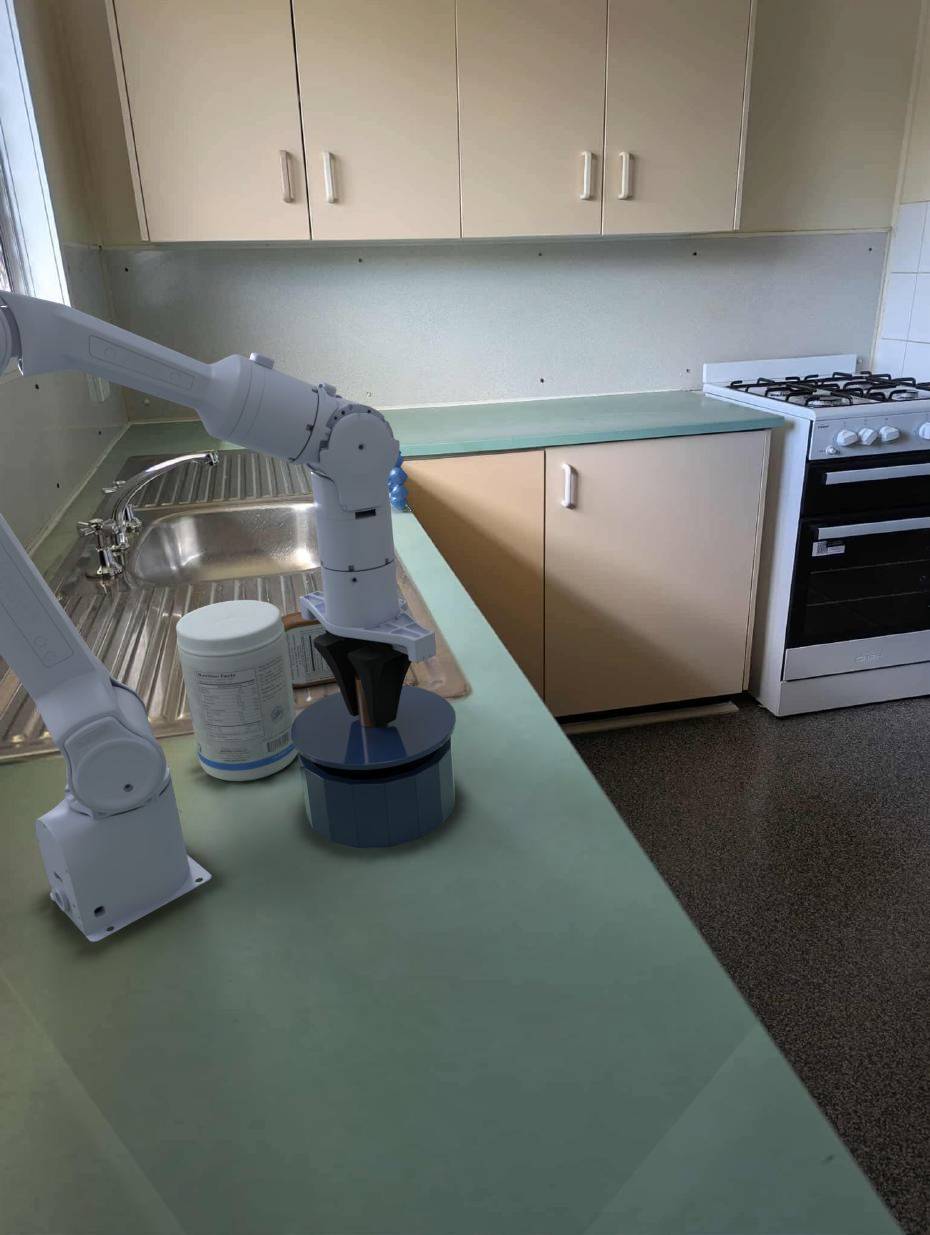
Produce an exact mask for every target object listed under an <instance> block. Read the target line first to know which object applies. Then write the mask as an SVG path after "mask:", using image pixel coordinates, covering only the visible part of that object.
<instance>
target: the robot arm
mask: <svg viewBox="0 0 930 1235" xmlns="http://www.w3.org/2000/svg"><path fill="white" fill-rule="evenodd" d="M0 300H1V301H2V302H3V304H4V305H2V306H0V378H1V377H2V376H3V374H4V373H5V371H6V370H7V368H8V366H9V364H10V362H11V358H16V360H17V367H18V369H19V371H20V373H21V375H22V377H23V378H28V377H34V376H40V375H45V374H46V375H47V374H53V373H58V372H65V371H78V372H81V373H84V374H87V375H90V376H93V377H96V378H99V379H103V380H106V381H109V382H111V383H114V384H116V385H117V384H118V385H120V386H124V387H126V388H129V389H133V390H136V391H139V392H142V393H145V394H147V395H150V396H154V397H157V398H160V399H163V400H167V401H168V402H172V403H175V404H178V405H181V406H184V407H188V408H189V409H193V410H194V411H195V412H196V414H197V415H198V417H199V419H200V420H201V423H202V424H203V427H204V429H205V431H206V432H207V434H208V435H209V436H210V437H213V438H214V439H215V438H216V439H218V440H221V441H224V442H227V443H230V444H233V445H236V446H238V447H241V448H245V449H248V450H250V451H254V452H256V453H259V454H262V455H265V456H267V457H271V458H273V459H276V460H278V461H282V462H284V463H288V464H290V465H294V466H298V465H299V466H300V465H305V466H306V467H307V468H308V469H309V470H311V471H310V477H311V486H312V487H311V488H312V495H313V513H314V524H315V530H316V540H317V547H318V556H319V566H320V572H321V583H322V591H320V590H316V591H313V592H310V593H307V594H304V595H301V596H299V606H300V612H301V614H302V618H303V619H306V620H313V619H318V620H319V621H320V623H321V624H322V625H323V626H324V627H325V628H326V629H327V630H326V633H325V634H322V635H320V636H318V637H316V638H315V639H314V647H315V648H316V649H317V651H318V652H319V653H320V654H321V656H322V657H323V658H324V660H325V661H326V663H327V664H328V666H329V668H330V669H331V671H332V673H333V675H334V677H335V679H336V681H335V682H336V683H337V686H338V688H339V692H341V693H342V696H343V699H344V701H345V704H346V706H347V709H348V711H349V713H350V715H352V716H354V717H355V716H357V715H358V706H357V696H356V687H355V678H354V677H355V675H356V674H358V676H359V678H360V681H361V683H362V686H363V690H364V693H365V698H366V704H367V709H368V714H369V718H370V721H371V723H372V725H373V726H374V727H376V728H380V727H382V726H384V725H386V724H388V723H390V722H392V721H394V720H396V717H397V711H398V705H399V700H400V695H401V691H402V687H403V685H404V683H405V679H406V676H407V674H408V672H409V669H410V667H411V665H412V663H414V664H420V663H422V662H424V661H426V660H429V659H431V658H433V657H436V656H437V644H436V632H435V631H434V630H430V629H428V628H426V627H424V626H423V625H422V624H421V623H419V622H418V621H417V620H416V619H415V618H413V617H412V616H411V615H410V614H409V613H408V612H406V611H408V601H406V600H405V599H401V598H399V593H398V592H399V591H398V579H397V578H398V577H397V568H396V567H397V566H396V554H395V543H394V530H393V516H392V504H391V503H390V493H389V486H388V477H389V475H390V473H391V471H392V470H393V468H394V466H395V464H396V462H397V459H398V455H399V450H400V448H401V446H400V440H398V439H396V438H395V437H394V436H395V435H394V432H393V429H392V427H391V424H390V423H389V421H388V420H386V419H385V415H384V414H383V413H382V412H380V411H378V410H377V409H376V408H374V407H372V406H369V405H366V404H362V403H359V402H355V401H352V400H349V399H345V398H343V396H341V394H336V393H337V387H336V386H335V385H332V384H329V383H327V382H323V381H319V382H318V383H317V385H314V384H312V383H309V382H307V381H304V380H302V379H300V378H297V377H294V376H292V375H290V374H287V373H286V372H285V373H284V372H282V371H279V370H277V369H274V365H275V359H273V358H272V357H269V356H266V355H264V354H261V353H259V352H251V354H250V357H245V356H243V355H240V354H239V353H238V354H237V353H235V354H232V355H229V356H227V357H224V358H223V359H220V360H218V361H216V362H213V363H208V364H207V363H205V362H202V361H200V360H198V359H195V358H193V357H190V356H188V355H185V354H184V353H181V352H178V351H176V350H174V349H171V348H169V347H166V346H164V345H161V344H160V343H158V342H154V341H153V340H150V339H148V338H146V337H143V336H140V335H138V334H136V333H134V332H131V331H130V330H129V331H128V330H127V329H124V328H121V327H119V326H116V325H114V324H112V323H109V322H107V321H105V320H104V319H103V320H102V319H100V318H98V317H96V316H93V315H90V314H88V313H86V312H83V311H81V310H79V309H76V308H73V307H71V306H69V305H66V304H63V303H60V302H56V301H52V300H47V299H44V298H39V297H34V296H31V295H26V294H22V293H17V292H12V291H9V290H4V289H0ZM42 575H43V574H42V573H41V572H40V571H39V569H38V567H37V566H36V565H35V563H34V562H33V560H32V559H31V557H30V556H29V554H28V552H27V550H26V549H25V548H24V546H23V545H22V544H21V542H20V540H19V538H18V537H17V536H16V534H15V533H14V531H13V529H12V528H11V527H10V525H9V523H8V522H7V520H6V518H4V516H3V514H2V513H1V512H0V656H1V657H2V658H3V660H4V661H5V663H6V664H7V665H8V667H9V668H10V670H11V671H12V673H13V674H14V675H15V677H16V678H17V680H18V681H19V682H20V684H21V685H22V687H23V688H24V689H25V691H26V692H27V694H28V695H29V696H30V697H31V699H32V700H33V702H34V704H35V706H36V709H37V710H38V712H39V714H40V716H41V719H42V721H43V723H44V725H45V728H46V729H47V732H48V735H49V736H50V738H51V741H52V742H53V744H54V745H55V747H56V748H57V749H58V751H59V752H60V754H61V755H62V757H63V760H64V762H65V770H66V771H65V773H66V775H65V776H66V784H65V788H64V796H65V797H64V799H63V800H62V801H60V802H59V803H58V804H57V805H56V806H55V807H54V808H52V809H51V810H49V811H48V812H46V813H45V814H43V815H41V816H40V817H38V818H36V820H35V821H34V832H35V836H36V841H37V844H38V848H39V851H40V855H41V859H42V863H43V866H44V869H45V873H46V877H47V880H48V885H49V888H50V891H51V892H50V893H49V896H50V899H51V901H54V902H55V903H56V904H57V906H58V907H59V908H60V910H61V911H62V912H64V913H65V915H66V916H67V917H68V918H70V920H71V922H72V923H73V924H74V925H75V927H77V928H78V929H79V930H80V932H81V933H82V934H83V935H84V936H85V938H87V939H88V941H90V942H92V943H96V942H98V941H101V940H103V939H105V938H106V937H108V936H110V935H112V934H114V933H115V932H118V931H119V930H122V929H123V928H124V927H126V926H129V925H130V924H132V923H134V922H136V921H137V920H139V919H141V918H143V917H145V916H146V915H148V914H151V913H152V912H154V911H156V910H158V909H159V908H161V907H163V906H165V905H167V904H168V903H171V902H172V901H174V900H176V899H178V898H180V897H181V896H183V895H185V894H187V893H189V892H191V891H192V890H194V889H196V888H198V887H199V886H201V885H203V884H205V883H207V882H208V881H210V880H211V879H212V878H213V875H212V874H211V873H210V872H209V871H208V870H206V869H205V868H204V867H203V866H202V865H200V864H199V863H198V862H197V861H196V860H194V859H193V858H192V857H191V856H190V855H188V853H187V849H186V843H185V839H184V838H185V837H184V833H183V829H182V825H181V824H182V823H181V818H180V814H179V809H178V804H177V799H176V795H175V789H174V784H173V780H172V775H171V770H170V767H169V765H168V763H167V758H166V754H165V752H164V749H163V747H162V745H161V744H160V743H159V741H158V740H157V737H156V735H155V733H154V731H153V727H152V725H151V722H150V720H149V717H148V716H149V715H148V711H147V707H146V704H145V702H144V699H143V698H142V696H141V695H140V694H139V693H138V692H137V691H136V690H134V688H132V687H131V686H129V685H126V684H125V683H123V682H121V681H119V680H117V679H116V678H115V677H114V676H113V675H112V674H111V673H110V672H109V670H108V669H107V667H106V665H104V663H103V662H102V661H101V659H100V658H98V656H97V655H96V654H94V652H92V650H91V648H90V647H89V646H88V643H86V641H85V640H84V638H83V636H82V635H81V634H80V632H79V630H78V629H77V627H76V626H75V624H74V623H73V621H72V619H71V618H70V617H69V615H68V613H67V612H66V610H65V609H64V607H63V606H62V604H61V603H60V602H59V600H58V598H57V597H56V595H55V594H54V593H53V591H52V589H51V588H50V586H49V585H48V583H47V582H46V580H45V578H44V577H43V576H42ZM198 880H201V881H199V882H197V881H198ZM109 928H113V929H111V930H108V929H109Z"/></svg>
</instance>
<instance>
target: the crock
mask: <svg viewBox="0 0 930 1235" xmlns="http://www.w3.org/2000/svg"><path fill="white" fill-rule="evenodd" d="M452 739H453V738H452V735H451V737H450V738H449V739H448V740H447V741H446V742H445V743H444V744H443V745H442V746H441V747H439V748H438V749H437V750H435V751H433V752H432V753H430V754H428V755H426V756H424V757H422V758H419V759H417V760H414V761H411V762H408V763H405V764H401V765H397V766H392V767H387V768H386V769H404V770H408V771H407V772H404V773H403V772H402V773H399V774H395V775H392V776H389V777H383V778H364V779H363V778H362V779H360V778H359V779H353V778H349V777H350V776H353V775H357V774H360V773H364V772H368V771H372V770H373V769H370V770H348V769H339V768H332V767H328V766H324V765H321V764H318V763H315V762H313V761H311V760H309V759H307V758H305V757H304V756H302V755H301V754H300V753H299V752H298V753H297V756H298V764H299V770H300V771H299V772H300V777H301V778H300V779H301V786H302V791H303V792H302V793H303V798H304V806H305V807H304V808H305V813H306V817H307V819H308V821H309V823H310V826H311V829H312V830H313V831H314V832H316V833H317V834H319V835H320V836H321V837H323V838H324V839H326V840H328V841H329V842H330V843H334V844H339V845H342V846H343V845H344V846H348V847H352V848H356V849H373V848H390V847H395V846H398V845H399V846H400V845H401V844H405V843H409V842H412V841H416V840H419V839H421V838H424V837H425V836H427V835H428V834H429V833H431V832H433V831H435V830H436V829H438V828H439V827H441V826H442V825H443V824H444V823H445V822H446V821H447V819H448V818H449V817H450V815H451V813H452V812H453V811H454V810H455V808H456V805H455V804H456V786H455V785H456V784H455V770H454V755H453V740H452ZM380 769H383V768H380ZM380 769H379V770H380Z"/></svg>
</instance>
